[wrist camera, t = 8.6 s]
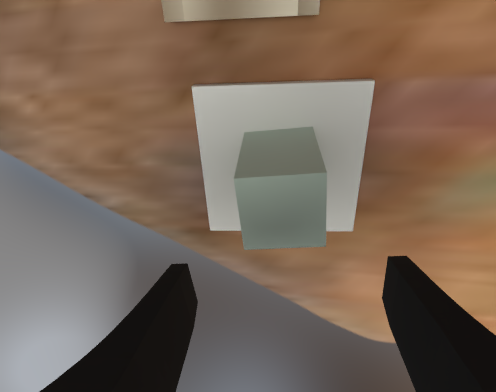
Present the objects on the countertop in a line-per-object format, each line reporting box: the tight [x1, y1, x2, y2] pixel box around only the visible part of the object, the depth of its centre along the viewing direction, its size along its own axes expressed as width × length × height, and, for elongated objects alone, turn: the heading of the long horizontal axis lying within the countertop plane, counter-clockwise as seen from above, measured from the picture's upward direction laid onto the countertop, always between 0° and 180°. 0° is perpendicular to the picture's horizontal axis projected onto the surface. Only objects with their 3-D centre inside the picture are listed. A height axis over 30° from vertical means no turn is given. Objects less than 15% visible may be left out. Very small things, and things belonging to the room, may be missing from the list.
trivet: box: [192, 79, 375, 231], centre depth 20 cm, size 10×10×1 cm
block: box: [234, 127, 327, 250], centre depth 17 cm, size 4×4×6 cm
